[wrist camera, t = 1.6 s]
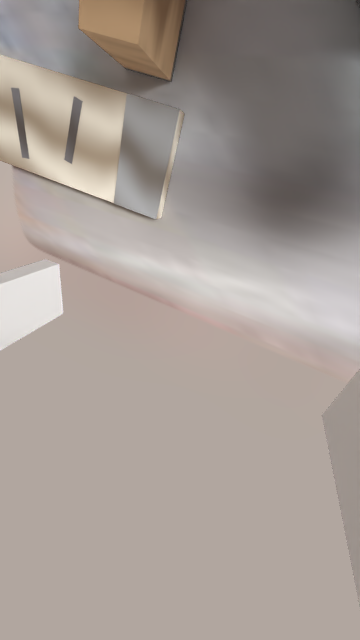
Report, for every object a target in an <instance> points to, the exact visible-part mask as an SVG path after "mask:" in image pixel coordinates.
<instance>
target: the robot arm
mask: <svg viewBox="0 0 360 640" xmlns="http://www.w3.org/2000/svg"><path fill="white" fill-rule="evenodd" d="M357 3H358V5H359V7H360V0H357ZM62 304H63V303H62V291H61V279H60V268H59V263H56V262H53V261H50V260H47V259H44V260H41V261H38V262H34V263H31V264H28V265H25V266H21V267H18V268H15V269H12V270H8V271H5V272H2V273H0V350H2V349H4V348H5V347H7V346H9V345H11V344H12V343H14V342H16V341H17V340H19V339H21V338H23V337H24V336H26V335H28V334H29V333H31V332H33V331H34V330H36V329H37V328H39V327H41V326H43V325H45V324H46V323H48V322H50V321H51V320H53V319H55V318H57V317H58V316H60V315H62V314H63V305H62ZM322 418H323V423H324V428H325V434H326V439H327V443H328V449H329V454H330V458H331V464H332V469H333V474H334V479H335V484H336V489H337V494H338V499H339V504H340V509H341V514H342V519H343V524H344V529H345V535H346V540H347V545H348V549H349V555H350V560H351V565H352V570H353V575H354V580H355V585H356V590H357V595H358V599H359V605H360V369H359V370H358V372H357V373H356V374H355V375H354V377H353V378H352V379H351V380H350V381H349V383H348V384H347V385H346V386H345V388H344V389H343V390H342V391H341V393H340V394H339V395H338V396H337V397H336V399H335V400H334V401H333V402H332V404H331V405H330V406H329V407H328V409H327V410H326V411H325V412H324V413H323V415H322Z"/></svg>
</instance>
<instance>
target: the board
mask: <svg viewBox="0 0 360 640" xmlns="http://www.w3.org/2000/svg"><path fill="white" fill-rule="evenodd" d="M183 119H184V113H183V112H182V111H181V110H180V109H178V108H175V107H171V106H168V105H165V104H162V103H158V102H155V101H152V100H148V99H145V98H142V97H139V96H135V95H132V94H129V93H124V92H121V91H118V90H114V89H111V88H108V87H105V86H101V85H98V84H95V83H91V82H88V81H85V80H82V79H78V78H75V77H72V76H69V75H65V74H62V73H59V72H55V71H52V70H49V69H46V68H42V67H39V66H36V65H32V64H29V63H26V62H23V61H19V60H16V59H13V58H10V57H6V56H3V55H0V161H3V162H5V163H8V164H11V165H13V166H16V167H19V168H21V169H24V170H27V171H29V172H32V173H35V174H37V175H40V176H43V177H45V178H48V179H51V180H53V181H56V182H59V183H61V184H64V185H67V186H69V187H72V188H75V189H77V190H80V191H83V192H85V193H88V194H91V195H93V196H96V197H99V198H101V199H104V200H107V201H109V202H112V203H114V204H116V205H119V206H121V207H124V208H127V209H129V210H132V211H135V212H137V213H140V214H143V215H145V216H148V217H151V218H153V219H159V218H161V217H162V213H163V208H164V204H165V199H166V195H167V190H168V186H169V181H170V177H171V172H172V168H173V163H174V159H175V154H176V150H177V145H178V141H179V136H180V132H181V128H182V123H183Z"/></svg>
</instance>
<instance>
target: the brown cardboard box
mask: <svg viewBox="0 0 360 640" xmlns="http://www.w3.org/2000/svg"><path fill="white" fill-rule="evenodd" d="M186 3H187V0H79V25H78V28H79V29H80V30H81V31H82V32H83V33H85V34H86V35H87V36H88V37H89V38H90V39H92V40H93V41H94V42H95V43H96V44H97V45H99V46H100V47H101V48H102V49H103V50H104V51H106V52H107V53H108V54H109V55H110V56H111V57H113V58H114V59H115V60H116V61H117V62H118V63H120V64H121V65H122V66H123V67H124V68H125V69H129V70H132V71H136V72H139V73H143V74H146V75H149V76H153V77H156V78H160V79H163V80H167V81H170V82H172V76H173V71H174V66H175V61H176V55H177V50H178V45H179V40H180V34H181V29H182V24H183V19H184V13H185V8H186Z"/></svg>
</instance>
